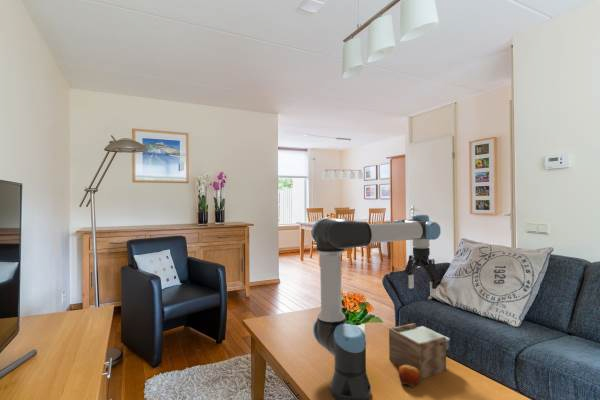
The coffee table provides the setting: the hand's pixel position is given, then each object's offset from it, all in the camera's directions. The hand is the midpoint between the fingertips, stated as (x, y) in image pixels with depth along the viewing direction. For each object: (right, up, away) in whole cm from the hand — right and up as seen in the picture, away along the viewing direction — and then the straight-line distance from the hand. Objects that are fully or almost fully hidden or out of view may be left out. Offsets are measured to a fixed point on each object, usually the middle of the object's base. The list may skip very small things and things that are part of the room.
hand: (421, 291), depth 154 cm
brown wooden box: (-7, -28, -14) cm, 32 cm away
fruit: (-15, -28, -27) cm, 42 cm away
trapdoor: (-5, -20, -13) cm, 24 cm away
